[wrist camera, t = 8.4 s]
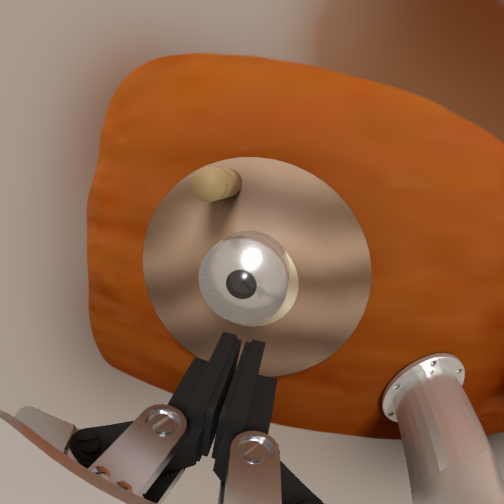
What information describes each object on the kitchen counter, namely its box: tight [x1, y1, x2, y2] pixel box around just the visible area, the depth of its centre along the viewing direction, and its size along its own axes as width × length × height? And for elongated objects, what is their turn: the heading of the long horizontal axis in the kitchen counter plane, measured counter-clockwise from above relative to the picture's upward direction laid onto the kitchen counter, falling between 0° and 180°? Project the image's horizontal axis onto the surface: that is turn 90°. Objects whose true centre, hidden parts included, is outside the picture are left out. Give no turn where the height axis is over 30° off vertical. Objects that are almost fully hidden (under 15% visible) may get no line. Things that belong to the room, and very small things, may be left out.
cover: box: [198, 230, 290, 324], centre depth 23 cm, size 7×7×4 cm
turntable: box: [143, 157, 371, 377], centre depth 23 cm, size 22×22×6 cm
